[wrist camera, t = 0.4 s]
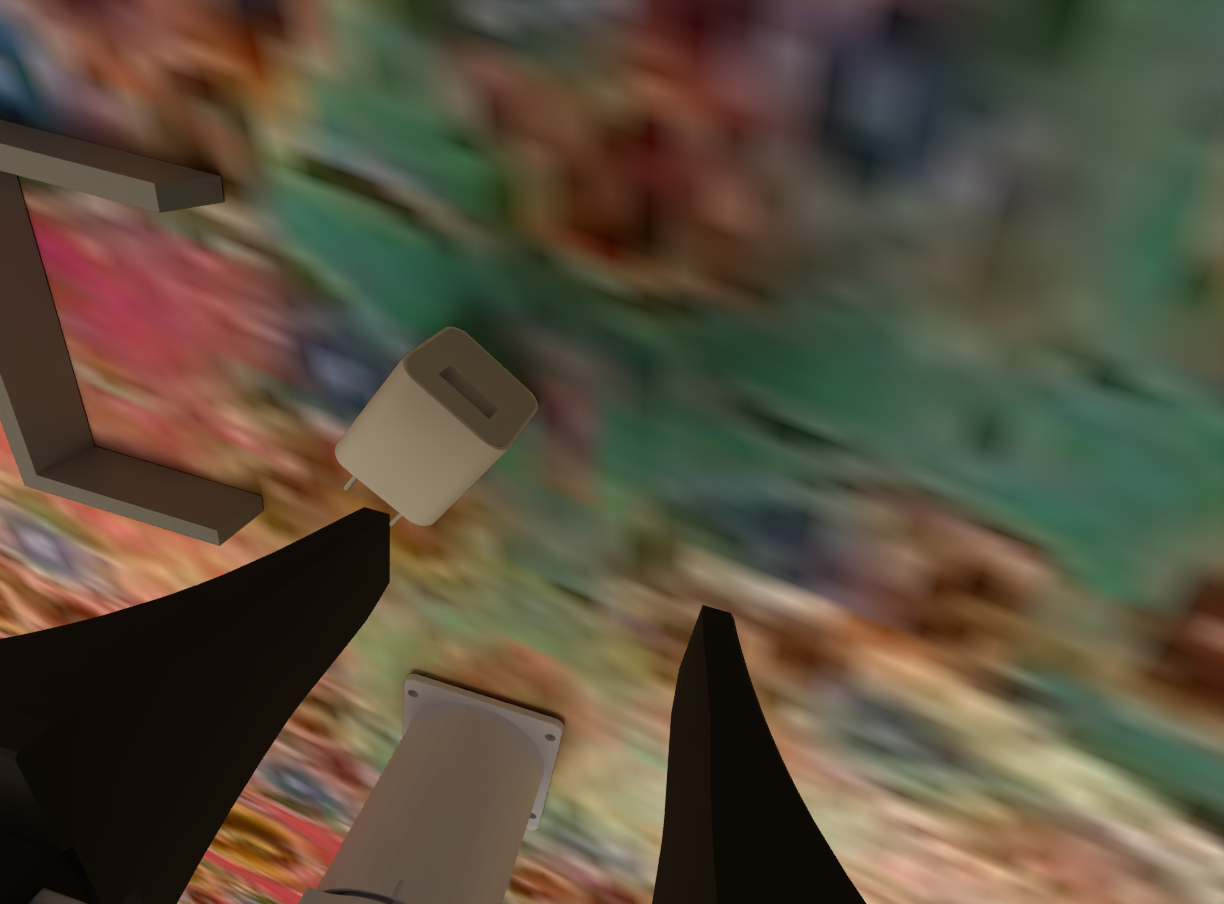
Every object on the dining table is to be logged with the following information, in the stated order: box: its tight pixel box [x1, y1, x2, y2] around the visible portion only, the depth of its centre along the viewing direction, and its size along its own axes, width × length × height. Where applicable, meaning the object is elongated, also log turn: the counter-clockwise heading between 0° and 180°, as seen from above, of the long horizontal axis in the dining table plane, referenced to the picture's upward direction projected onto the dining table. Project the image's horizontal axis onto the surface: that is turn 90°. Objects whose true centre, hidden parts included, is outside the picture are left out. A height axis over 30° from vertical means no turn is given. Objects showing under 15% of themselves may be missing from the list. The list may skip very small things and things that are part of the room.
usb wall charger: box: [335, 326, 538, 526], centre depth 21 cm, size 4×7×4 cm, turn 137°
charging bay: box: [0, 120, 263, 546], centre depth 22 cm, size 14×9×2 cm, turn 168°
